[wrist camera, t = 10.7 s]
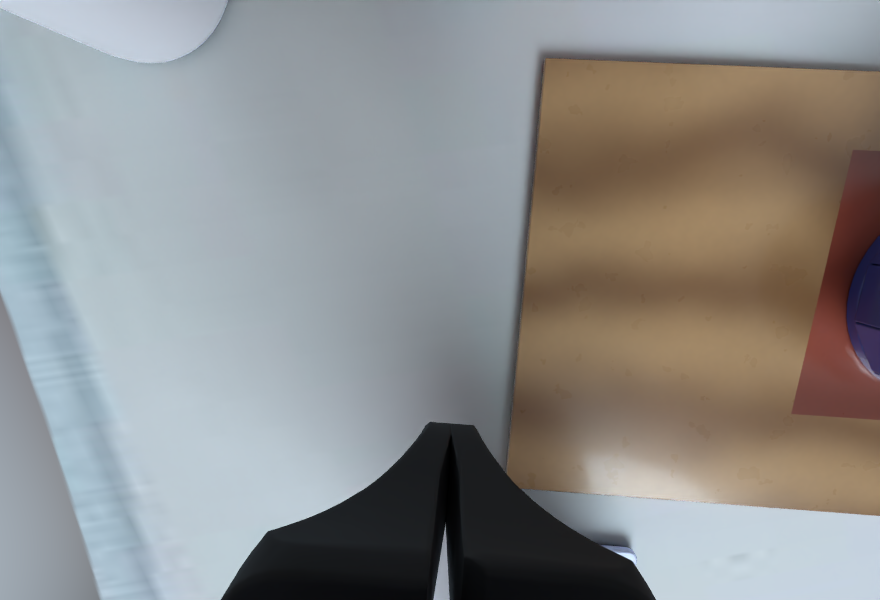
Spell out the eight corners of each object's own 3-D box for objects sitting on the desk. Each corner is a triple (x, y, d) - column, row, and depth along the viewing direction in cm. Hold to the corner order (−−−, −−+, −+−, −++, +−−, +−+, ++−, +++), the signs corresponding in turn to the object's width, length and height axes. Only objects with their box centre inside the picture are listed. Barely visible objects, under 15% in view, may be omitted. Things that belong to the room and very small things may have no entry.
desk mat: (1011, 521, 22) (1021, 527, 21) (504, 483, 23) (505, 488, 22) (1170, 86, 18) (1186, 83, 17) (543, 60, 19) (545, 57, 18)
